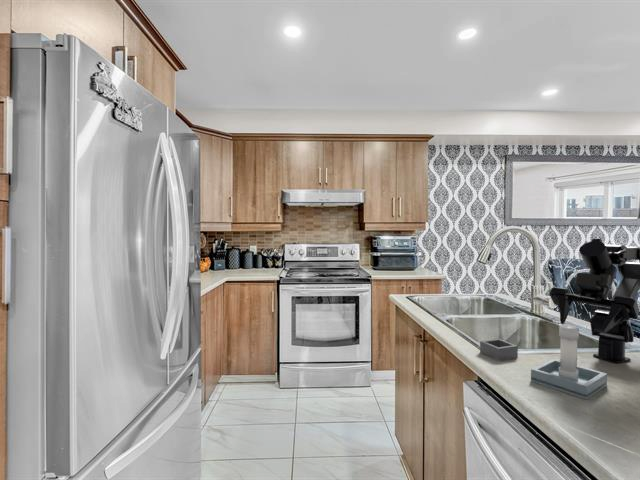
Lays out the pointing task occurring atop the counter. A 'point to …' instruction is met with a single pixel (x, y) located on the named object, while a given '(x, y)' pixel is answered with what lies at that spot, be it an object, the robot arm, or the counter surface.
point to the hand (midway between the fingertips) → (581, 327)
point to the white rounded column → (568, 352)
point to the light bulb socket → (499, 349)
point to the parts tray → (583, 388)
